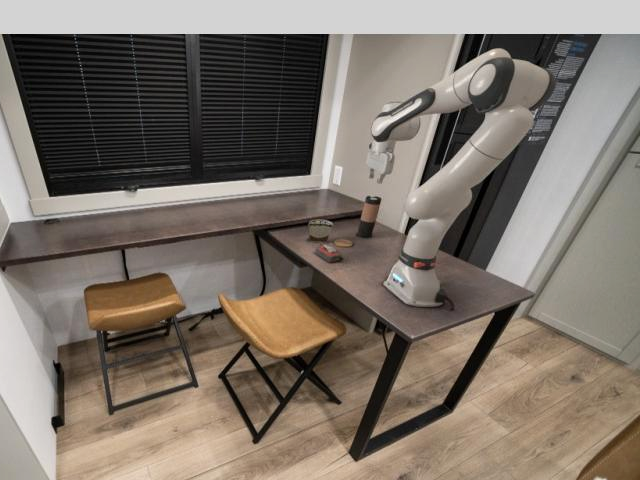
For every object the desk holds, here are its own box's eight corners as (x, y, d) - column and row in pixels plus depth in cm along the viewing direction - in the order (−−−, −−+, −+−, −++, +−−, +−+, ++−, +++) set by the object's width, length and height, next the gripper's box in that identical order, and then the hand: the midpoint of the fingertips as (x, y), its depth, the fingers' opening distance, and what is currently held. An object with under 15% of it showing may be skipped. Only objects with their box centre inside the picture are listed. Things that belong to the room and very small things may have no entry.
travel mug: (366, 239, 162) (376, 200, 151) (353, 234, 168) (362, 197, 156) (374, 236, 166) (384, 198, 155) (362, 231, 171) (371, 194, 160)
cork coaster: (354, 247, 154) (355, 246, 153) (337, 247, 153) (337, 246, 153) (349, 240, 161) (349, 239, 161) (331, 239, 161) (332, 239, 161)
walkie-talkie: (346, 261, 141) (320, 244, 156) (348, 252, 138) (322, 236, 153) (330, 264, 138) (305, 246, 153) (332, 255, 135) (307, 238, 150)
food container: (328, 238, 163) (332, 219, 157) (330, 242, 158) (333, 223, 152) (304, 236, 164) (307, 218, 158) (305, 241, 158) (308, 222, 153)
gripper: (402, 150, 123) (391, 186, 131) (381, 143, 140) (373, 175, 148) (386, 150, 123) (377, 186, 131) (367, 143, 140) (360, 175, 148)
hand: (374, 180), depth 139 cm, fingers open, 8 cm apart
